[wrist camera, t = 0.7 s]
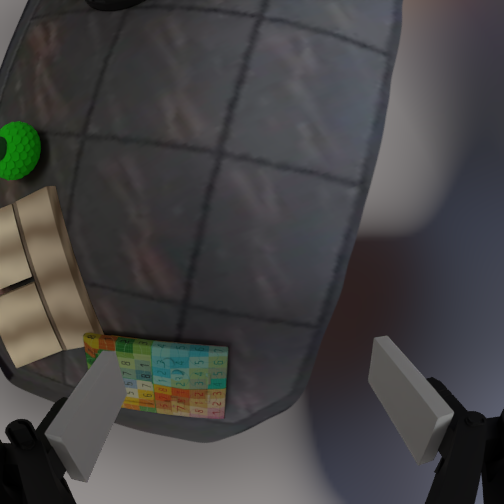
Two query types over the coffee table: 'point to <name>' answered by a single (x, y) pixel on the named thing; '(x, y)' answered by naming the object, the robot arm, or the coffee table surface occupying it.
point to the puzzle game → (167, 374)
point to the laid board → (55, 267)
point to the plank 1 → (12, 250)
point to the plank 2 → (26, 326)
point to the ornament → (18, 150)
